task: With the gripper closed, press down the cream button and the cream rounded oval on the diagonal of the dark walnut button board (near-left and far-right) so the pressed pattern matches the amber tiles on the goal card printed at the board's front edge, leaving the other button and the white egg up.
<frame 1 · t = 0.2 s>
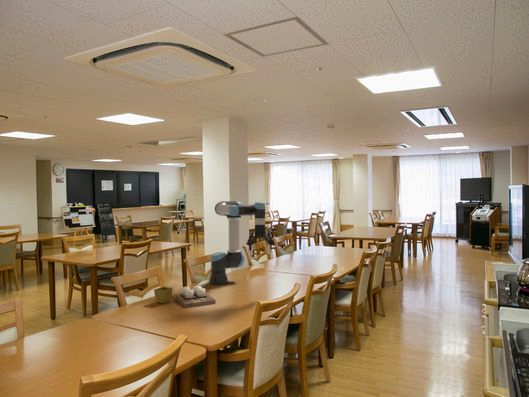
hand: (260, 254, 275), 28 cm above the table, fingers open, 13 cm apart
flower pot: (163, 302, 256), on the table
cream rounded oval 4: (189, 293, 256), point 5 cm above the table, slide at 0.0 cm
white egg 2: (185, 291, 263), point 5 cm above the table, slide at 0.0 cm
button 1: (197, 289, 267), point 5 cm above the table, slide at 0.0 cm
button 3: (201, 292, 260), point 5 cm above the table, slide at 0.0 cm
board: (194, 301, 259), on the table
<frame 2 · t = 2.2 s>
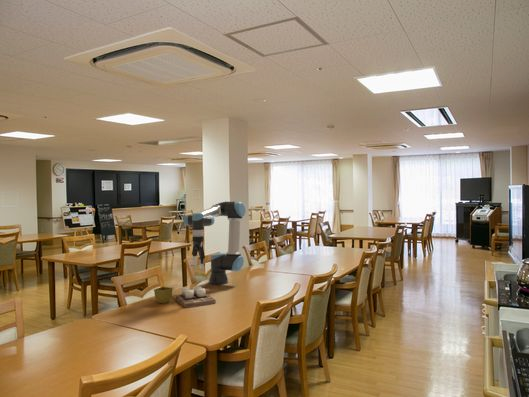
hand: (198, 267, 267), 21 cm above the table, fingers open, 13 cm apart
nothing on the table moved.
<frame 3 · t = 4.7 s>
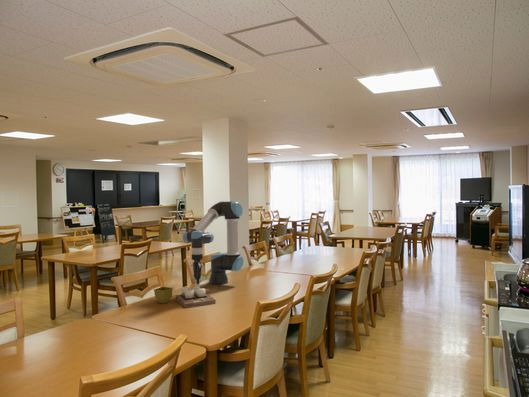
hand: (197, 288, 267), 6 cm above the table, fingers closed
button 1: (197, 291, 267), point 4 cm above the table, slide at 1.3 cm, touching gripper
everything else where it was.
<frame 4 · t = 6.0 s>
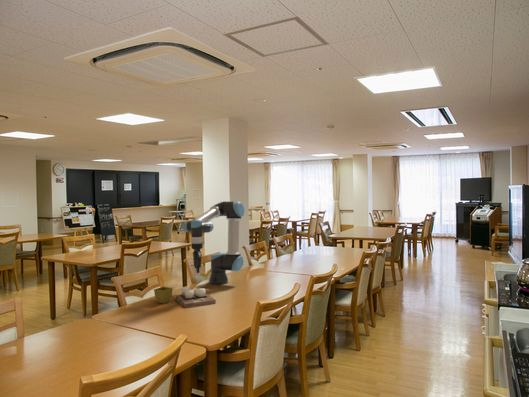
hand: (197, 277, 267), 14 cm above the table, fingers closed
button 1: (197, 293, 267), point 3 cm above the table, slide at 2.4 cm
everything else where it was.
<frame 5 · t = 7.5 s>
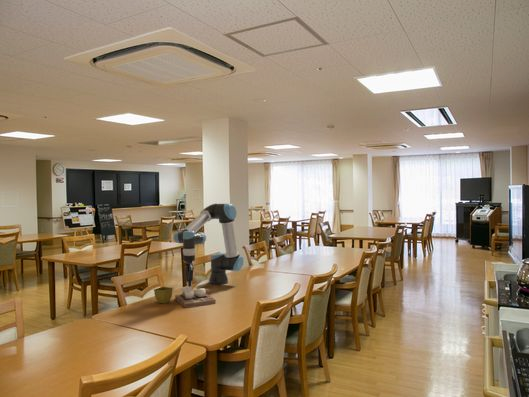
hand: (189, 290, 256), 7 cm above the table, fingers closed
cream rounded oval 4: (189, 294, 256), point 5 cm above the table, slide at 0.4 cm, touching gripper
everything else where it was.
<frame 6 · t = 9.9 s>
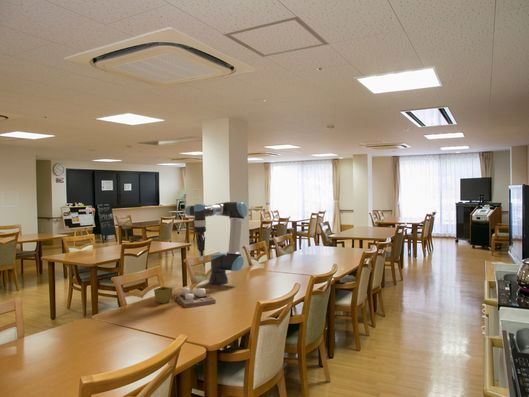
hand: (201, 260, 270), 25 cm above the table, fingers closed
cream rounded oval 4: (189, 297, 256), point 3 cm above the table, slide at 2.4 cm
everything else where it was.
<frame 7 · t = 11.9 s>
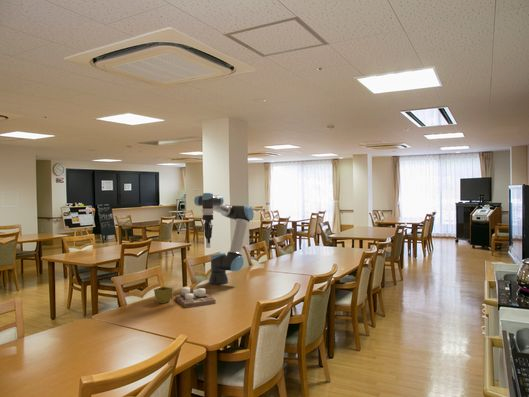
hand: (208, 247, 279), 32 cm above the table, fingers closed
nothing on the table moved.
at the end: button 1 slide at 2.4 cm; cream rounded oval 4 slide at 2.4 cm; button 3 slide at 0.0 cm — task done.
